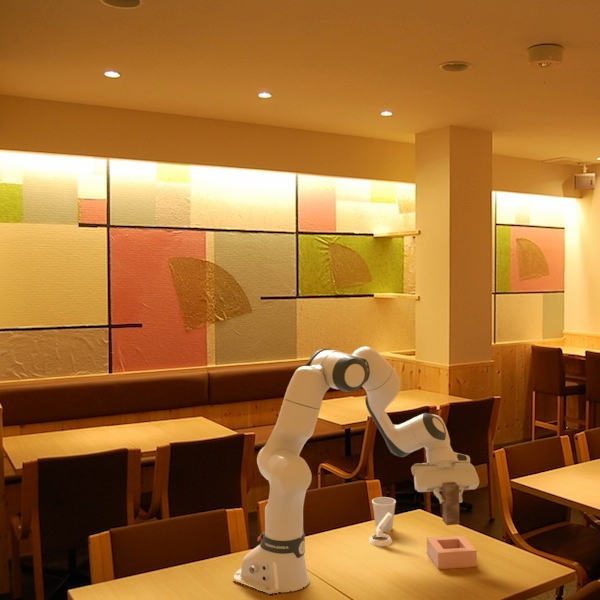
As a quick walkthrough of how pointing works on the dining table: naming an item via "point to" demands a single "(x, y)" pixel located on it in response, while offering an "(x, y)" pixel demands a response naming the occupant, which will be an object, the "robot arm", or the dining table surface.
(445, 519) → the walnut block
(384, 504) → the dixie cup
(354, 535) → the dining table surface
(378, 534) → the white lever
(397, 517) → the dining table surface
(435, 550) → the terracotta well
